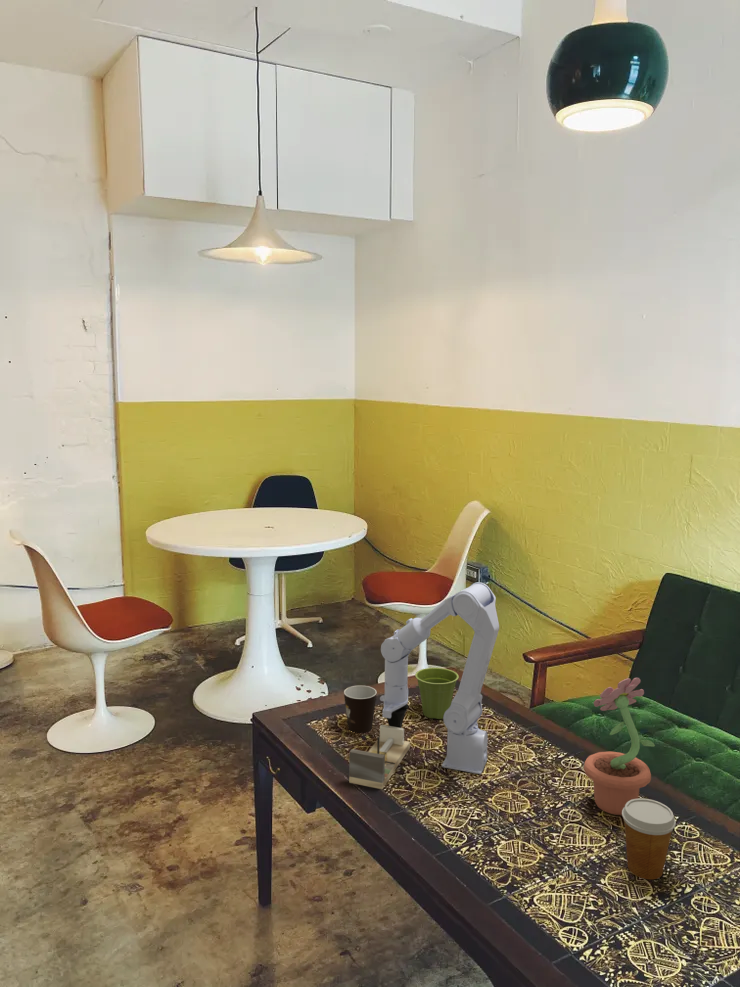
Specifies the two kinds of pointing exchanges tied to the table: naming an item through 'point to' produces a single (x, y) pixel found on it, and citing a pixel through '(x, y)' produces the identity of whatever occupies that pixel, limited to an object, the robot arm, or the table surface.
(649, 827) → the disposable coffee cup
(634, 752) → the decorative flower
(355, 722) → the coffee mug
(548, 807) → the table surface
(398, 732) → the white t-shaped block
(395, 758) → the beige l-shaped stand
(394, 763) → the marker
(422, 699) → the plant pot
